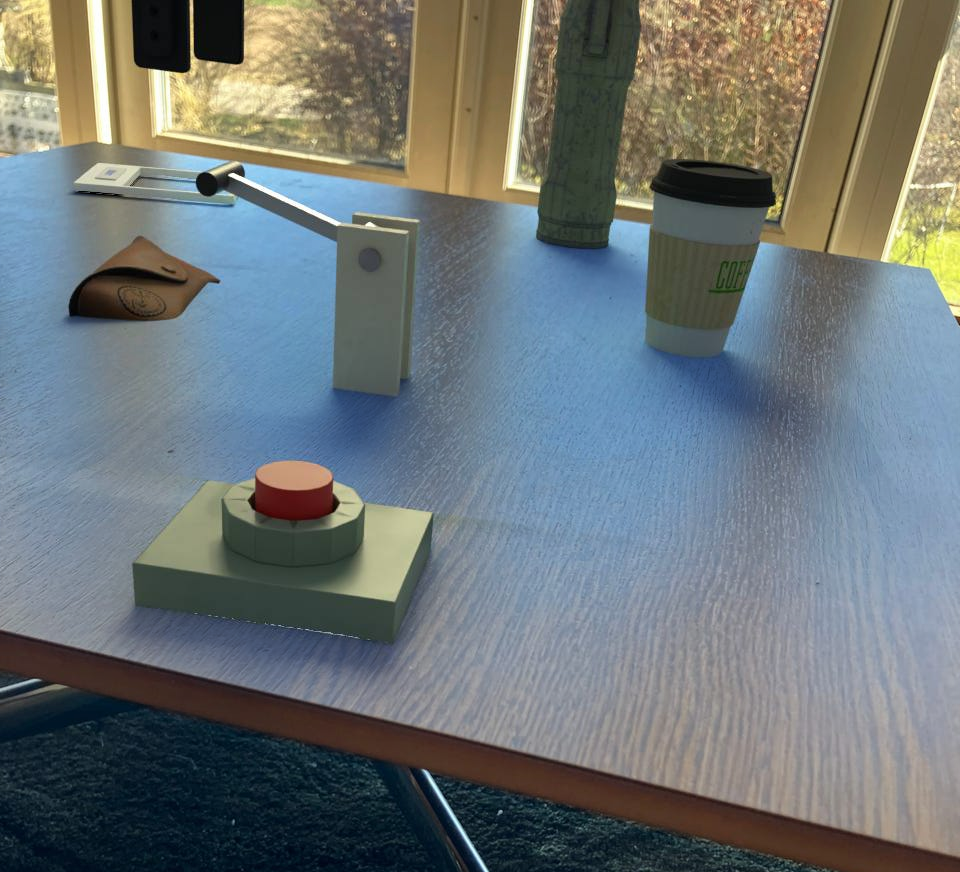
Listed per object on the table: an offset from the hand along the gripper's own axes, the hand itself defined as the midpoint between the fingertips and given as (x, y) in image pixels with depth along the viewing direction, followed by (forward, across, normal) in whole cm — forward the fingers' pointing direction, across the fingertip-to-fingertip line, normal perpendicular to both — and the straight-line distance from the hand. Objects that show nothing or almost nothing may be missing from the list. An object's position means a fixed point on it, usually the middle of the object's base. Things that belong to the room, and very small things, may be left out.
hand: (192, 65), depth 69 cm
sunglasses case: (+20, -15, -9) cm, 26 cm away
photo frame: (+20, -65, -28) cm, 73 cm away
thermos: (+19, -65, +22) cm, 72 cm away
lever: (+9, 0, +7) cm, 12 cm away
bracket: (+19, 0, +12) cm, 23 cm away
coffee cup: (+19, -20, +34) cm, 44 cm away
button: (+16, +27, +14) cm, 34 cm away
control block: (+20, +27, +14) cm, 36 cm away
